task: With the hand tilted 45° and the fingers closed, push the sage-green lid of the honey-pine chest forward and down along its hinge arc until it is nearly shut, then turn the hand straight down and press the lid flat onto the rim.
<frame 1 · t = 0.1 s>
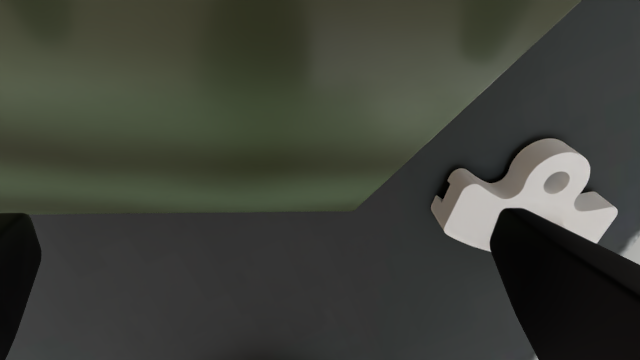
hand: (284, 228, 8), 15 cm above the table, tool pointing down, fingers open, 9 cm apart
lid: (149, 139, 10), point 12 cm above the table, hinge at 42.5°
joystick: (519, 186, 28), on the table
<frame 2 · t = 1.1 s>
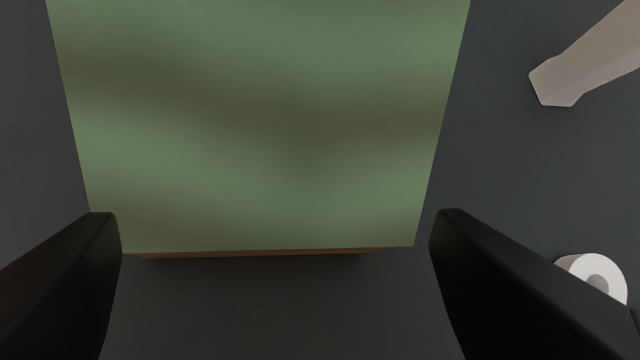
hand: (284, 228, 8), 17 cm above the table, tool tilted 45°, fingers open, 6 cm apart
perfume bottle: (549, 84, 31), on the table
lid: (268, 100, 15), point 12 cm above the table, hinge at 42.5°
chest: (259, 160, 26), on the table
joystick: (568, 315, 28), on the table
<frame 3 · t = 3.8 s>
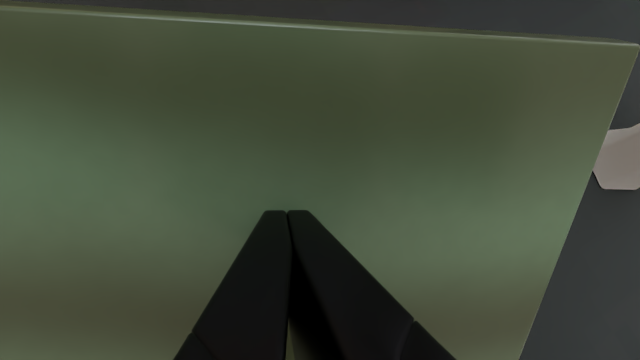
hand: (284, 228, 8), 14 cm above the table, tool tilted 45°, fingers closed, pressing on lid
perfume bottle: (609, 161, 26), on the table
lid: (280, 308, 10), point 12 cm above the table, hinge at 40.1°, touching gripper
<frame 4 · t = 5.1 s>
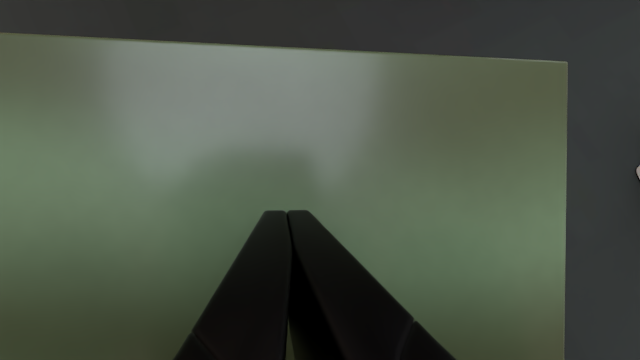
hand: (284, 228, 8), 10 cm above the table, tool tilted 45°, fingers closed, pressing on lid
lid: (282, 349, 9), point 9 cm above the table, hinge at 14.3°, touching gripper
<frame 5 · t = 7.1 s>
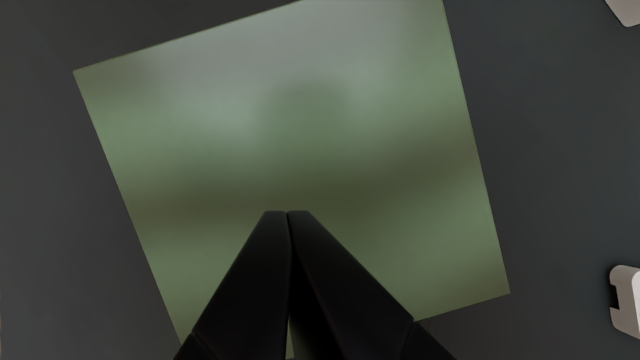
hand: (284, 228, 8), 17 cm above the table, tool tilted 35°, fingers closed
lid: (305, 187, 16), point 9 cm above the table, hinge at 14.3°
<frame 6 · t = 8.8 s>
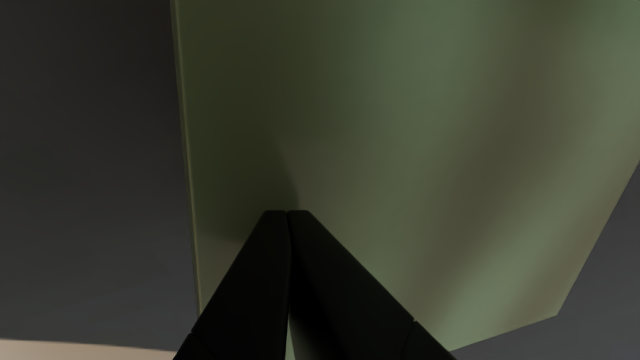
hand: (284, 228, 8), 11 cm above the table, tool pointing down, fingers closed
lid: (456, 185, 10), point 9 cm above the table, hinge at 14.2°, touching gripper
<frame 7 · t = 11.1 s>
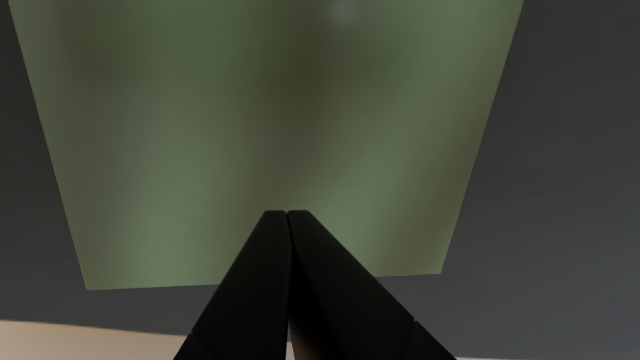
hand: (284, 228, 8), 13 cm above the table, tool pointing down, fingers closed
lid: (281, 109, 12), point 8 cm above the table, hinge at -0.3°, touching chest
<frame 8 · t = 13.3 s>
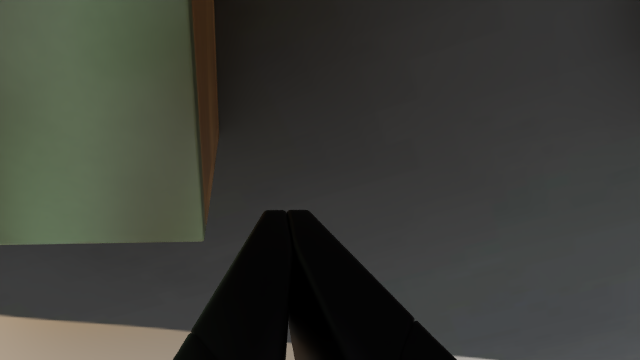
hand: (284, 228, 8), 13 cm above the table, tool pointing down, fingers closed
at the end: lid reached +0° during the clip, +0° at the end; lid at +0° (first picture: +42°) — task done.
